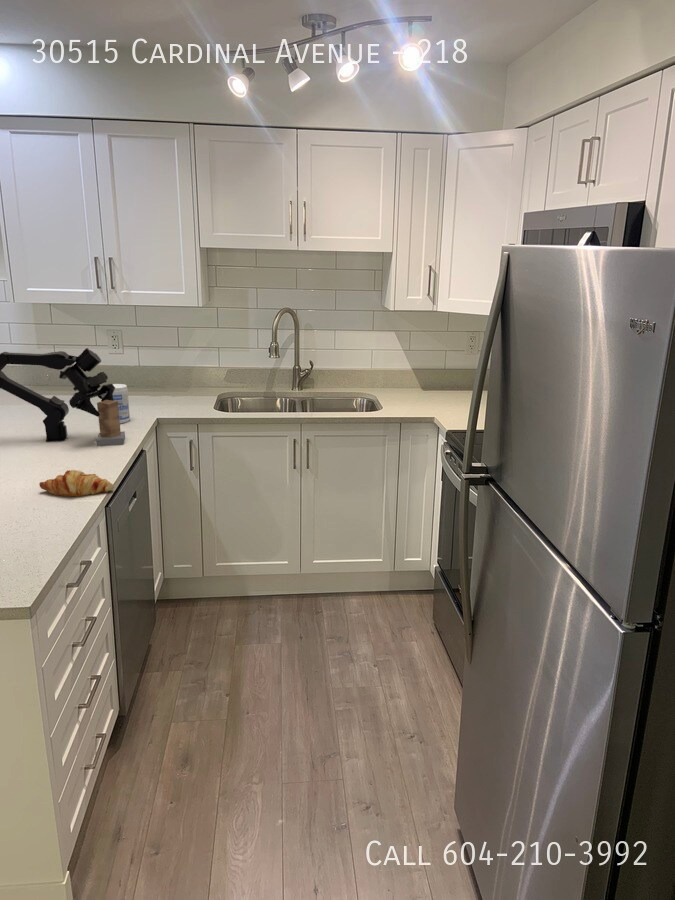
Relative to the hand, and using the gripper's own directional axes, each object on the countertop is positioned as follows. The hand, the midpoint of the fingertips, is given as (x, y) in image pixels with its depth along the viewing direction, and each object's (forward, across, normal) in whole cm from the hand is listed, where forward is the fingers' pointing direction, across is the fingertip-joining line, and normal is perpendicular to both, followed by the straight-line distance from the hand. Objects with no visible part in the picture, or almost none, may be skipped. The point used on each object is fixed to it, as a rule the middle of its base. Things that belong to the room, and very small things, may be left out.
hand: (107, 413), depth 235 cm
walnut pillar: (+6, 0, +6) cm, 8 cm away
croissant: (+26, -45, -10) cm, 52 cm away
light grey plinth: (+8, 0, +8) cm, 11 cm away
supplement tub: (-4, +25, +20) cm, 32 cm away
